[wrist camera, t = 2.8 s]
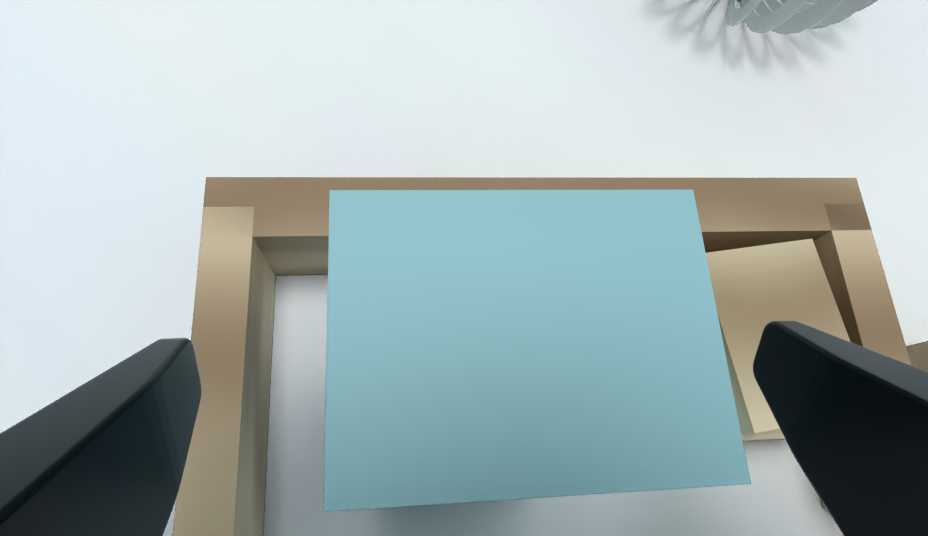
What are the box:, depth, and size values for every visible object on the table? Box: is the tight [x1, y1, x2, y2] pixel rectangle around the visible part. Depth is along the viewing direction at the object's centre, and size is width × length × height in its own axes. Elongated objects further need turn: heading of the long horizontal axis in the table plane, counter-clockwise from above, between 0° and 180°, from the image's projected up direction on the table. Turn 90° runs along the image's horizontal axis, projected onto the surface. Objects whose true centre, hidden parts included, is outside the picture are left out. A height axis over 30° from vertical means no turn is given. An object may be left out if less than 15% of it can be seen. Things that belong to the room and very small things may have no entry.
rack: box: [173, 177, 911, 536], centre depth 16 cm, size 9×18×3 cm, turn 93°
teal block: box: [324, 190, 751, 512], centre depth 12 cm, size 4×4×10 cm
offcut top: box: [706, 239, 850, 435], centre depth 15 cm, size 4×3×2 cm
